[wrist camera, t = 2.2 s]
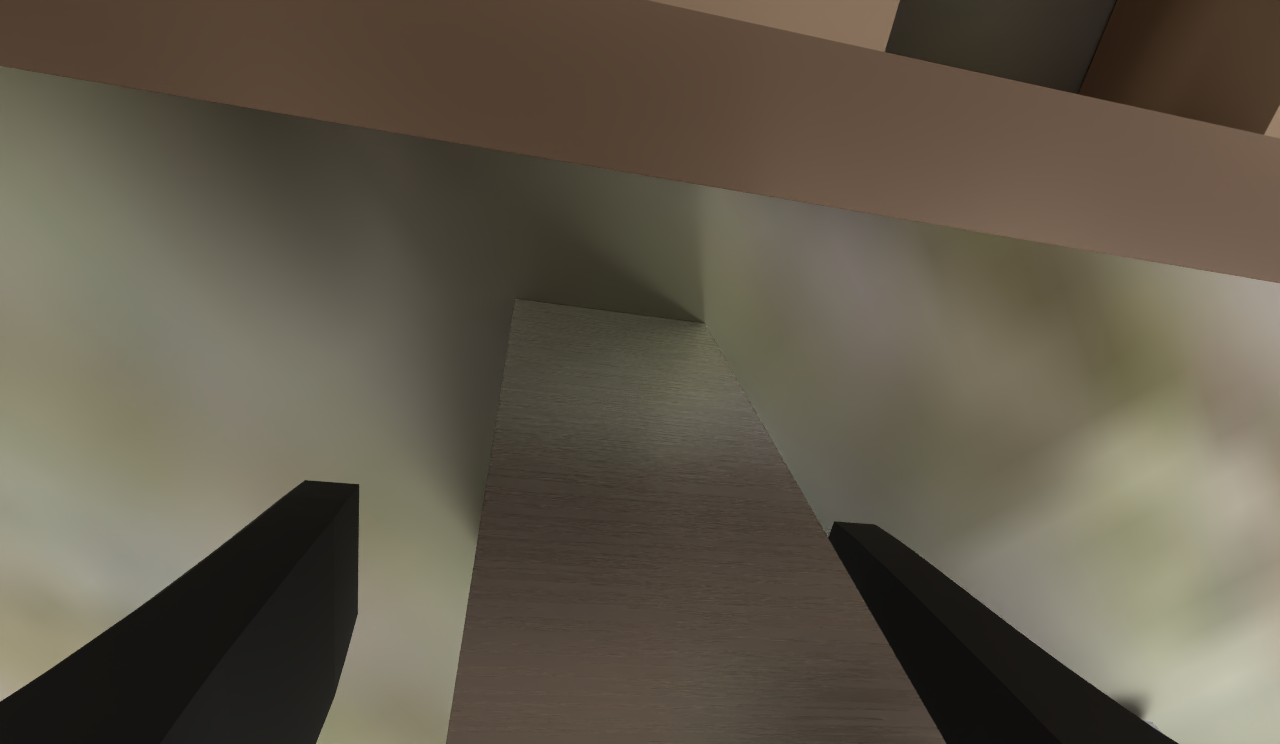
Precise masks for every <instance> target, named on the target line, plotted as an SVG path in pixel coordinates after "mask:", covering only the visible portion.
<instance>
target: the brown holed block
mask: <svg viewBox="0 0 1280 744" xmlns="http://www.w3.org/2000/svg"><path fill="white" fill-rule="evenodd" d="M899 2H900V0H0V66H5V67H10V68H16V69H22V70H28V71H34V72H40V73H46V74H52V75H58V76H63V77H69V78H75V79H81V80H87V81H93V82H99V83H105V84H111V85H116V86H122V87H128V88H134V89H140V90H146V91H152V92H158V93H163V94H169V95H175V96H181V97H187V98H193V99H199V100H205V101H211V102H216V103H222V104H228V105H234V106H240V107H246V108H252V109H258V110H264V111H269V112H275V113H281V114H287V115H293V116H299V117H305V118H311V119H317V120H322V121H328V122H334V123H340V124H346V125H352V126H358V127H364V128H370V129H375V130H381V131H387V132H393V133H399V134H405V135H411V136H417V137H422V138H428V139H434V140H440V141H446V142H452V143H458V144H464V145H470V146H475V147H481V148H487V149H493V150H499V151H505V152H511V153H517V154H523V155H528V156H534V157H540V158H546V159H552V160H558V161H564V162H570V163H576V164H581V165H587V166H593V167H599V168H605V169H611V170H617V171H623V172H629V173H634V174H640V175H646V176H652V177H658V178H664V179H670V180H676V181H681V182H687V183H693V184H699V185H705V186H711V187H717V188H723V189H729V190H734V191H740V192H746V193H752V194H758V195H764V196H770V197H776V198H782V199H787V200H793V201H799V202H805V203H811V204H817V205H823V206H829V207H835V208H840V209H846V210H852V211H858V212H864V213H870V214H876V215H882V216H888V217H893V218H899V219H905V220H911V221H917V222H923V223H929V224H935V225H941V226H946V227H952V228H958V229H964V230H970V231H976V232H982V233H988V234H993V235H999V236H1005V237H1011V238H1017V239H1023V240H1029V241H1035V242H1041V243H1046V244H1052V245H1058V246H1064V247H1070V248H1076V249H1082V250H1088V251H1094V252H1099V253H1105V254H1111V255H1117V256H1123V257H1129V258H1135V259H1141V260H1147V261H1152V262H1158V263H1164V264H1170V265H1176V266H1182V267H1188V268H1194V269H1200V270H1205V271H1211V272H1217V273H1223V274H1229V275H1235V276H1241V277H1247V278H1252V279H1258V280H1264V281H1270V282H1276V283H1280V0H1117V2H1116V4H1115V7H1114V9H1113V12H1112V14H1111V17H1110V19H1109V21H1108V24H1107V26H1106V29H1105V31H1104V34H1103V36H1102V38H1101V41H1100V43H1099V46H1098V48H1097V50H1096V53H1095V55H1094V58H1093V60H1092V63H1091V65H1090V67H1089V70H1088V72H1087V75H1086V77H1085V80H1084V82H1083V84H1082V87H1081V89H1080V92H1079V94H1074V93H1070V92H1065V91H1061V90H1056V89H1052V88H1047V87H1042V86H1038V85H1033V84H1029V83H1024V82H1020V81H1015V80H1010V79H1006V78H1001V77H997V76H992V75H987V74H983V73H978V72H974V71H969V70H965V69H960V68H955V67H951V66H946V65H942V64H937V63H933V62H928V61H923V60H919V59H914V58H910V57H905V56H901V55H896V54H891V53H887V52H885V49H886V46H887V42H888V39H889V35H890V32H891V29H892V25H893V22H894V19H895V15H896V12H897V8H898V5H899Z"/></svg>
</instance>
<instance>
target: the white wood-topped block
mask: <svg viewBox="0 0 1280 744" xmlns="http://www.w3.org/2000/svg"><path fill="white" fill-rule="evenodd" d="M446 744H946V742H945V741H944V739H943V737H942V735H941V734H940V732H939V730H938V728H937V727H936V725H935V723H934V721H933V720H932V718H931V716H930V715H929V713H928V711H927V709H926V708H925V706H924V704H923V702H922V701H921V699H920V697H919V695H918V694H917V692H916V690H915V688H914V687H913V685H912V683H911V681H910V680H909V678H908V676H907V675H906V673H905V671H904V669H903V668H902V666H901V664H900V662H899V661H898V659H897V657H896V655H895V654H894V652H893V650H892V648H891V647H890V645H889V643H888V641H887V640H886V638H885V636H884V635H883V633H882V631H881V629H880V628H879V626H878V624H877V622H876V621H875V619H874V617H873V615H872V614H871V612H870V610H869V608H868V607H867V605H866V603H865V602H864V600H863V598H862V596H861V595H860V593H859V591H858V589H857V588H856V586H855V584H854V582H853V581H852V579H851V577H850V575H849V574H848V572H847V570H846V568H845V567H844V565H843V563H842V562H841V560H840V558H839V556H838V555H837V553H836V551H835V549H834V548H833V546H832V544H831V542H830V541H829V539H828V537H827V535H826V534H825V532H824V530H823V528H822V527H821V525H820V523H819V522H818V520H817V518H816V516H815V515H814V513H813V511H812V509H811V508H810V506H809V504H808V502H807V501H806V499H805V497H804V495H803V494H802V492H801V490H800V489H799V487H798V485H797V483H796V482H795V480H794V478H793V476H792V475H791V473H790V471H789V469H788V468H787V466H786V464H785V462H784V461H783V459H782V457H781V455H780V454H779V452H778V450H777V449H776V447H775V445H774V443H773V442H772V440H771V438H770V436H769V435H768V433H767V431H766V429H765V428H764V426H763V424H762V422H761V421H760V419H759V417H758V415H757V414H756V412H755V410H754V409H753V407H752V405H751V403H750V402H749V400H748V398H747V396H746V395H745V393H744V391H743V389H742V388H741V386H740V384H739V382H738V381H737V379H736V377H735V376H734V374H733V372H732V370H731V369H730V367H729V365H728V363H727V362H726V360H725V358H724V356H723V355H722V353H721V351H720V349H719V348H718V346H717V344H716V342H715V341H714V339H713V337H712V336H711V334H710V332H709V330H708V329H707V327H706V325H705V323H697V322H690V321H682V320H674V319H667V318H659V317H651V316H644V315H636V314H629V313H621V312H613V311H606V310H598V309H590V308H583V307H575V306H567V305H560V304H552V303H544V302H537V301H529V300H521V299H515V303H514V309H513V316H512V322H511V329H510V335H509V341H508V348H507V354H506V361H505V367H504V374H503V380H502V387H501V393H500V399H499V406H498V412H497V419H496V425H495V432H494V438H493V444H492V451H491V457H490V464H489V470H488V477H487V483H486V490H485V496H484V502H483V509H482V515H481V522H480V528H479V535H478V541H477V547H476V554H475V560H474V567H473V573H472V580H471V586H470V593H469V599H468V605H467V612H466V618H465V625H464V631H463V638H462V644H461V650H460V657H459V663H458V670H457V676H456V683H455V689H454V695H453V702H452V708H451V715H450V721H449V728H448V734H447V741H446Z"/></svg>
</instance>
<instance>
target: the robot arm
mask: <svg viewBox="0 0 1280 744" xmlns="http://www.w3.org/2000/svg"><path fill="white" fill-rule="evenodd" d="M358 537H359V484H346V483H333V482H321V481H308V480H305V481H304V482H302V483H301V484H300V485H298V486H297V487H295V488H294V489H293V490H292V491H290V492H289V493H288V494H286V495H285V496H284V497H282V498H281V499H280V500H278V501H277V502H276V503H275V504H273V505H272V506H271V507H270V508H268V509H267V510H266V511H265V512H263V513H262V514H261V515H260V516H258V517H257V518H256V519H255V520H253V521H252V522H251V523H249V524H248V525H247V526H246V527H244V528H243V529H242V530H241V531H239V532H238V533H237V534H236V535H234V536H233V537H232V538H230V539H229V540H228V541H227V542H225V543H224V544H223V545H221V546H220V547H219V548H218V549H216V550H215V551H214V552H213V553H211V554H210V555H209V556H207V557H206V558H205V559H203V560H202V561H201V562H199V563H198V564H197V565H195V566H194V567H193V568H191V569H190V570H189V571H187V572H186V573H185V574H183V575H182V576H181V577H179V578H178V579H177V580H175V581H174V582H173V583H171V584H170V585H169V586H167V587H166V588H165V589H163V590H162V591H161V592H159V593H158V594H157V595H155V596H154V597H153V598H151V599H150V600H149V601H147V602H146V603H145V604H143V605H142V606H140V607H139V608H138V609H136V610H135V611H134V612H132V613H131V614H129V615H128V616H126V617H125V618H123V619H122V620H121V621H119V622H118V623H116V624H115V625H113V626H112V627H110V628H109V629H108V630H106V631H105V632H103V633H102V634H100V635H99V636H97V637H96V638H95V639H93V640H92V641H90V642H89V643H87V644H86V645H84V646H83V647H82V648H80V649H79V650H77V651H76V652H74V653H73V654H71V655H70V656H69V657H67V658H66V659H64V660H63V661H61V662H60V663H58V664H57V665H56V666H54V667H53V668H51V669H50V670H48V671H47V672H45V673H44V674H42V675H41V676H39V677H38V678H36V679H35V680H33V681H32V682H30V683H29V684H27V685H26V686H24V687H22V688H21V689H19V690H18V691H16V692H15V693H13V694H12V695H10V696H9V697H7V698H5V699H4V700H2V701H1V702H0V744H316V742H317V739H318V737H319V734H320V732H321V729H322V727H323V724H324V722H325V719H326V717H327V714H328V712H329V709H330V707H331V704H332V701H333V699H334V696H335V693H336V690H337V686H338V683H339V679H340V676H341V672H342V669H343V665H344V662H345V658H346V655H347V651H348V647H349V644H350V640H351V636H352V633H353V629H354V625H355V622H356V618H357V614H358ZM828 539H829V541H830V542H831V544H832V546H833V548H834V549H835V551H836V553H837V555H838V556H839V558H840V560H841V562H842V563H843V565H844V567H845V568H846V570H847V572H848V574H849V575H850V577H851V579H852V581H853V582H854V584H855V586H856V588H857V589H858V591H859V593H860V595H861V596H862V598H863V600H864V602H865V603H866V605H867V607H868V608H869V610H870V612H871V614H872V615H873V617H874V619H875V621H876V622H877V624H878V626H879V628H880V629H881V631H882V633H883V635H884V636H885V638H886V640H887V641H888V643H889V645H890V647H891V648H892V650H893V652H894V654H895V655H896V657H897V659H898V661H899V662H900V664H901V666H902V668H903V669H904V671H905V673H906V675H907V676H908V678H909V680H910V681H911V683H912V685H913V687H914V688H915V690H916V692H917V694H918V695H919V697H920V699H921V701H922V702H923V704H924V706H925V708H926V709H927V711H928V713H929V715H930V716H931V718H932V720H933V721H934V723H935V725H936V727H937V728H938V730H939V732H940V734H941V735H942V737H943V739H944V741H945V742H946V744H1178V743H1177V742H1175V741H1174V740H1172V739H1170V738H1169V737H1167V736H1166V735H1164V734H1163V733H1162V732H1161V731H1160V730H1159V729H1158V728H1157V727H1156V725H1154V724H1153V723H1152V722H1148V721H1143V720H1142V719H1140V718H1139V717H1137V716H1136V715H1134V714H1133V713H1131V712H1130V711H1128V710H1127V709H1125V708H1124V707H1123V706H1121V705H1120V704H1118V703H1117V702H1115V701H1114V700H1113V699H1111V698H1110V697H1108V696H1107V695H1106V694H1104V693H1103V692H1101V691H1100V690H1098V689H1097V688H1096V687H1094V686H1093V685H1091V684H1090V683H1089V682H1087V681H1086V680H1084V679H1083V678H1081V677H1080V676H1079V675H1077V674H1076V673H1074V672H1073V671H1071V670H1070V669H1069V668H1067V667H1066V666H1065V665H1063V664H1062V663H1060V662H1059V661H1058V660H1056V659H1055V658H1054V657H1052V656H1051V655H1050V654H1048V653H1047V652H1045V651H1044V650H1043V649H1041V648H1040V647H1039V646H1037V645H1036V644H1035V643H1033V642H1032V641H1031V640H1029V639H1028V638H1027V637H1025V636H1024V635H1023V634H1021V633H1020V632H1019V631H1017V630H1016V629H1015V628H1013V627H1012V626H1011V625H1009V624H1008V623H1007V622H1005V621H1004V620H1003V619H1002V618H1000V617H999V616H998V615H996V614H995V613H994V612H992V611H991V610H990V609H988V608H987V607H986V606H985V605H983V604H982V603H981V602H979V601H978V600H977V599H975V598H974V597H973V596H972V595H970V594H969V593H968V592H966V591H965V590H964V589H962V588H961V587H960V586H959V585H957V584H956V583H955V582H953V581H952V580H951V579H949V578H948V577H947V576H946V575H944V574H943V573H942V572H940V571H939V570H938V569H936V568H935V567H934V566H933V565H931V564H930V563H929V562H927V561H926V560H925V559H923V558H922V557H921V556H919V555H918V554H917V553H915V552H914V551H913V550H911V549H910V548H909V547H907V546H906V545H904V544H903V543H902V542H900V541H899V540H897V539H896V538H895V537H893V536H892V535H890V534H889V533H887V532H886V531H884V530H883V529H881V528H880V527H878V526H876V525H873V524H860V523H847V522H834V524H833V526H832V529H831V532H830V535H829V538H828Z"/></svg>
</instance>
